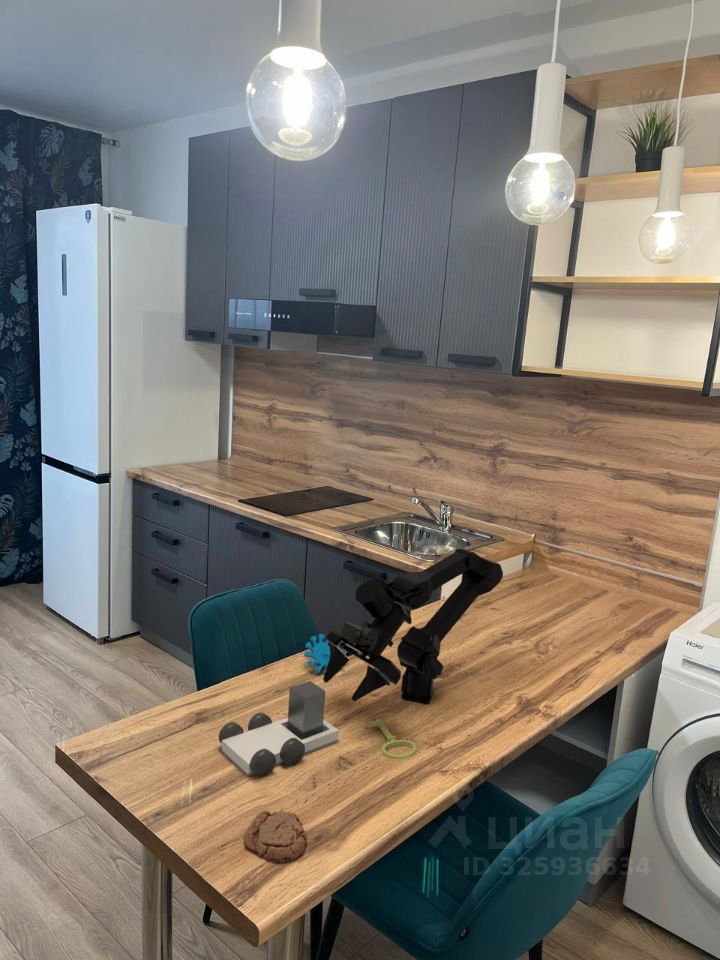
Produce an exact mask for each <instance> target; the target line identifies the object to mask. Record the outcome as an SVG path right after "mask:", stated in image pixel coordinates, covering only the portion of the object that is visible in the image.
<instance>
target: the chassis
mask: <svg viewBox="0 0 720 960" xmlns="http://www.w3.org/2000/svg"><path fill="white" fill-rule="evenodd" d="M248 721H249V722H248V725H247V731H245V730H244V728H243V727H242V726H241V725H240V724H238V722H235V721H230V722H228V723H225V725H223V727H222V728H221V729H220V731H219V732H218V733H219V734H218V741H219V743H220V745H221V754H223V755H224V756H225V757H226V758H227V759H228V760H230V761H231V763H233V764H234V765H235V766H236V767H237V768H238V769H239V770H240V771H241V772H242V773H243V774H245V776H246V777H248V778H249V777H252V776H254V775H255V776H256V777H258V778H265V777H267V776H268V775H270V774H271V773H272V772H273V770H274V769H275V767H277V766H279V765H280V766H281V765H282V764H286V765H287V766H291V767H292V766H295V765H297V764H298V763H299V762H301V760H302V759H303V757H304V755H307V754H309V753H313V752H315V751H318V750H321V749H323V748H326V747H328V746H330V745H332V744H333V745H334V744H335V743H337V742H339V729H337V727H335V726H334V725H332V724H331V723H329V722H328V721H326V720H325V718H324V719H323V732H321V733H319V734H316V735H313V736H311V737H308V738H306V739H303V740H301V739H299V738H298V737H297V736H296V735H294V734H293V733H292V732H290V731H289V730H288V729H287V724H288V717H286V718H282V719H279V720H277V721H274V722H273V720H272V718H271V717H270V716H269V715H267V714H266V713H264V712H258V713H255V714H254V715H253V716H252V717H251V718H250V720H248Z"/></svg>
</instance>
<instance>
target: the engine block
mask: <svg viewBox="0 0 720 960" xmlns="http://www.w3.org/2000/svg"><path fill="white" fill-rule="evenodd" d="M288 696H289V697H288V708H287V709H288V710H287V711H288V712H287V718H288V724H287V729H288V730H289V731H290V732H292V733H293V734H294V735H296V736H297V737H298V738H299V739H301V740H303V739H306V738H308V737H311V736H313V735H316V734H319V733H321V732H323V719H324V720H325V716H324V715H325V704H326V703H325V702H326V690H325V689H323V688H322V687H320V686H318V685H317V684H315V683H314V682H312V681H311V680H309V681H306V682H303V683H299V684H297V685H294V686H290V687H289V694H288Z"/></svg>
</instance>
